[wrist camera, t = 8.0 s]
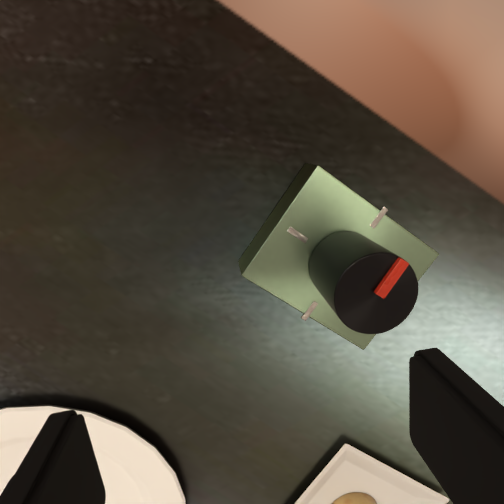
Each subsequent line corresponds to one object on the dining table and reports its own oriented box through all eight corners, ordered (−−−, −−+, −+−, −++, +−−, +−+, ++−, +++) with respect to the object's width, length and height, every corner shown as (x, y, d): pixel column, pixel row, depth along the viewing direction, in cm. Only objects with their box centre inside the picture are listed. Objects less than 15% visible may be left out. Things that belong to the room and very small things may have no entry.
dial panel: (235, 265, 26) (238, 280, 23) (308, 158, 25) (321, 160, 22) (345, 332, 29) (362, 354, 26) (417, 239, 27) (444, 251, 24)
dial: (350, 309, 25) (387, 351, 20) (295, 277, 24) (318, 313, 19) (390, 252, 24) (439, 281, 19) (334, 217, 23) (370, 237, 18)
